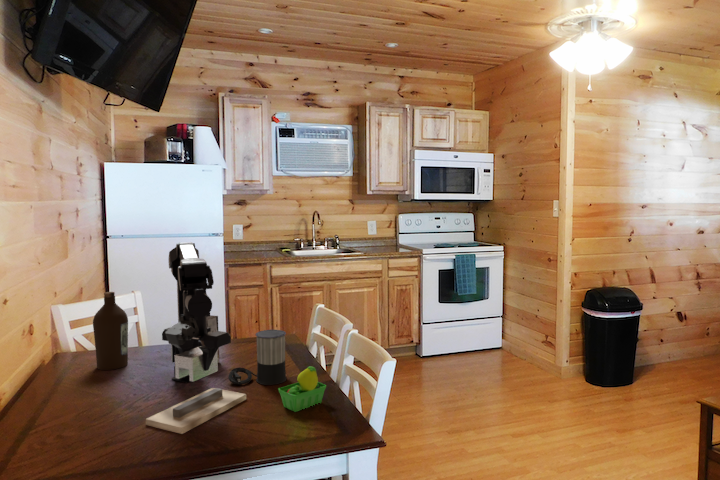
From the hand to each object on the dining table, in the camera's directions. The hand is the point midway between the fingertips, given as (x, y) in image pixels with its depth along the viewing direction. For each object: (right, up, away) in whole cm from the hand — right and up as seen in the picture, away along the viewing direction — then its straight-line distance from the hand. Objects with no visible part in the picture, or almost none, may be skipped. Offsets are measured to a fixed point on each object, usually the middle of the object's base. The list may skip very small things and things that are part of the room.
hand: (197, 368), depth 137 cm
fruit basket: (+27, -11, +4) cm, 30 cm away
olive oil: (-41, -9, +40) cm, 58 cm away
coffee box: (-11, -9, +42) cm, 44 cm away
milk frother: (+11, -10, +24) cm, 28 cm away
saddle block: (0, -2, 0) cm, 2 cm away
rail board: (0, -11, +1) cm, 11 cm away
